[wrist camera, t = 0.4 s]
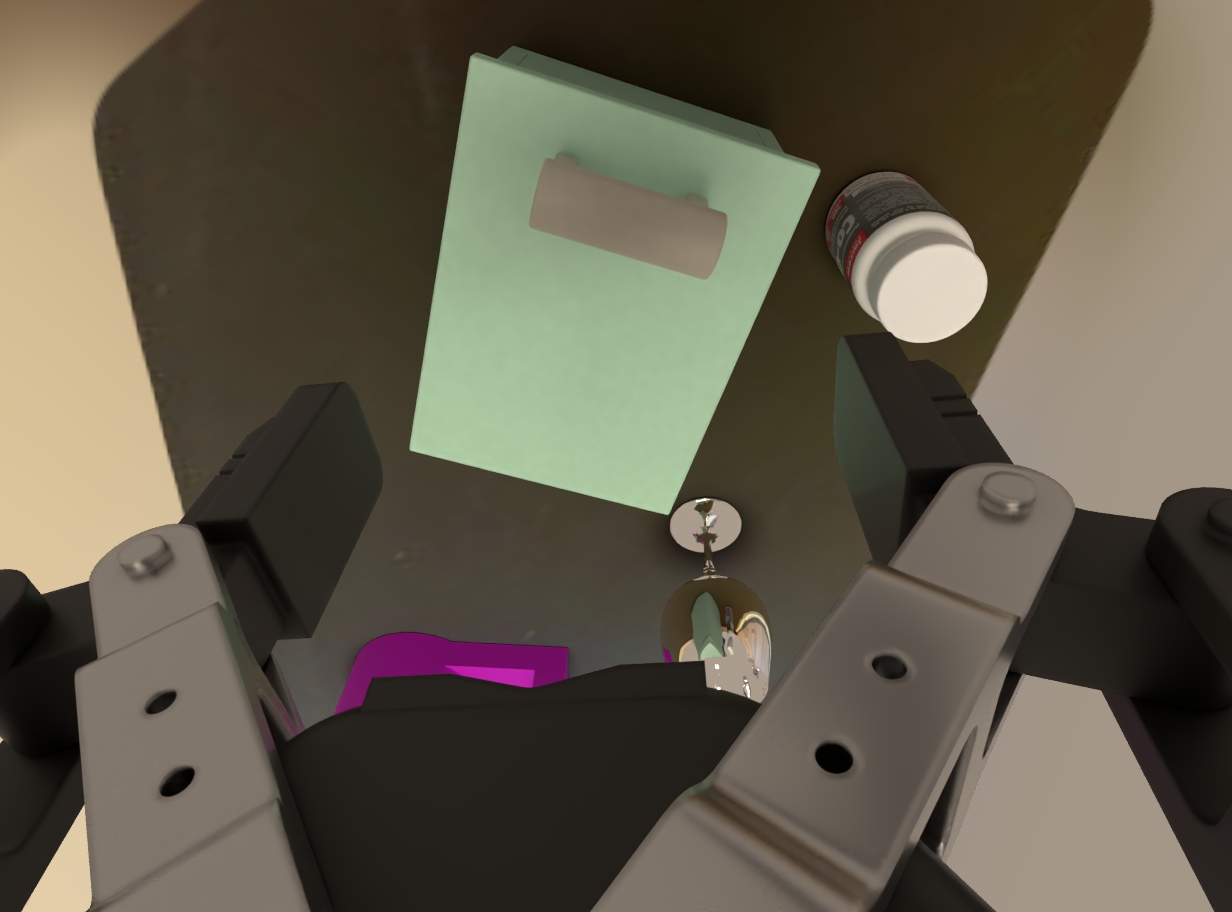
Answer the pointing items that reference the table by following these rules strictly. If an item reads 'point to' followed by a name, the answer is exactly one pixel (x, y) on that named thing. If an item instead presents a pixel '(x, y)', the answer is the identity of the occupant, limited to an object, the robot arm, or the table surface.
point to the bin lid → (594, 285)
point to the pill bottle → (905, 257)
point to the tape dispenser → (451, 663)
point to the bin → (640, 96)
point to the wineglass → (716, 607)
